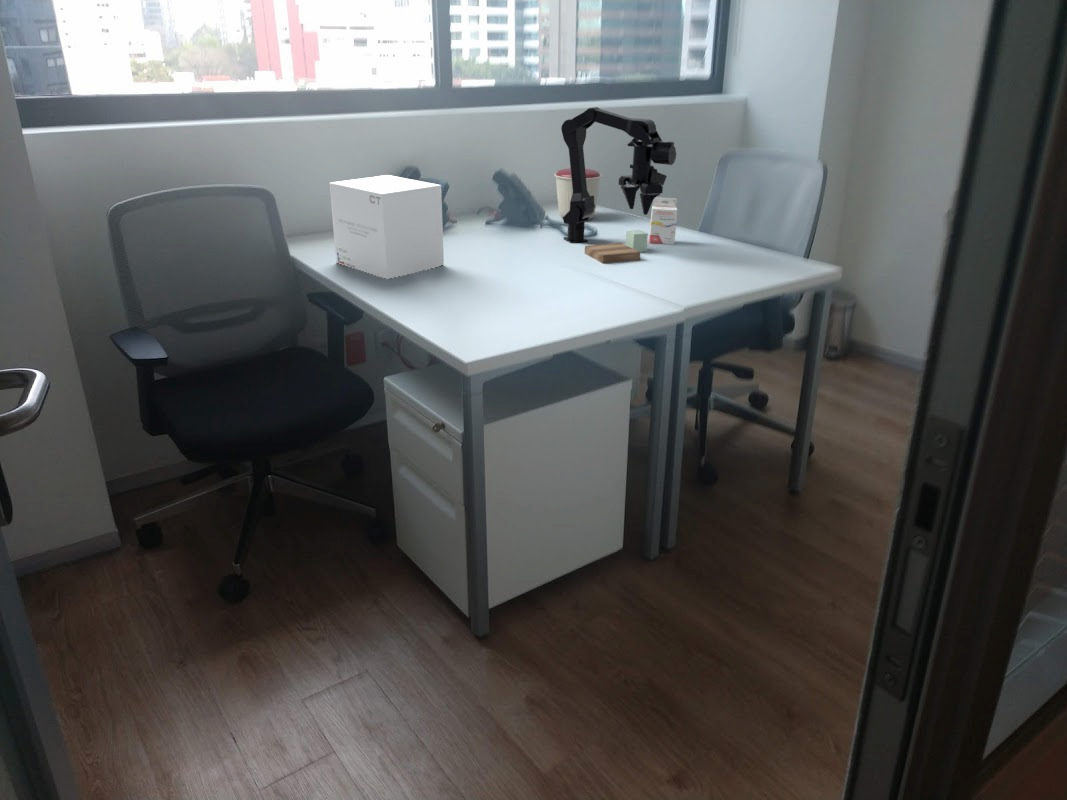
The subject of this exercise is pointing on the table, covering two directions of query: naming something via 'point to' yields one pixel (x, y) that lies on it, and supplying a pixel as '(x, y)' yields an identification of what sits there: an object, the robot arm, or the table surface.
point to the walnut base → (612, 253)
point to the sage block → (637, 240)
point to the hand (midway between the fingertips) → (638, 211)
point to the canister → (566, 188)
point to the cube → (387, 225)
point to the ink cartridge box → (663, 221)
